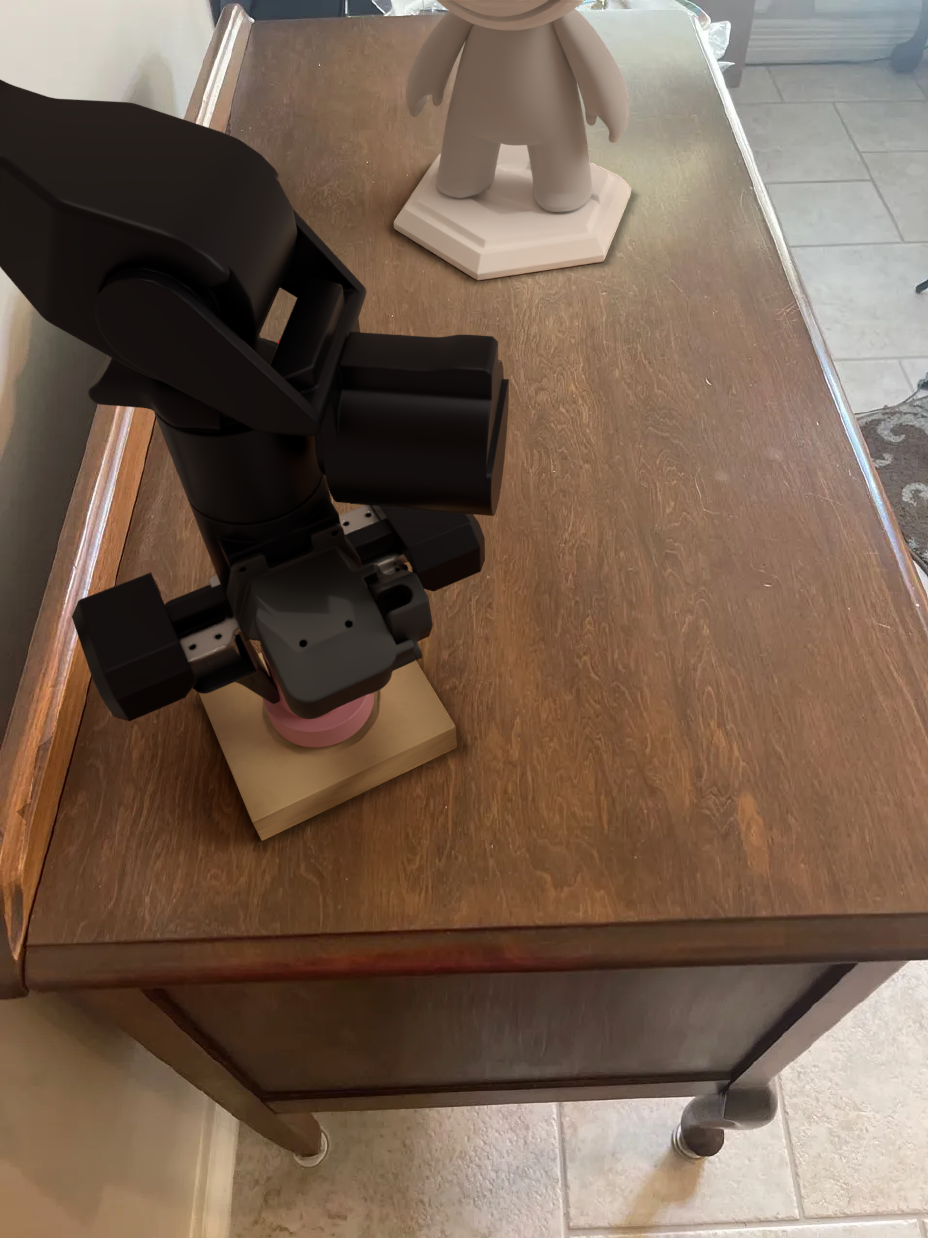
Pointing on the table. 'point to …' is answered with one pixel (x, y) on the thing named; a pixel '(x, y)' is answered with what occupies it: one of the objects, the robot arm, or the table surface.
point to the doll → (317, 719)
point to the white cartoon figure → (517, 139)
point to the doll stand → (326, 750)
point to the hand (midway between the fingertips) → (314, 679)
